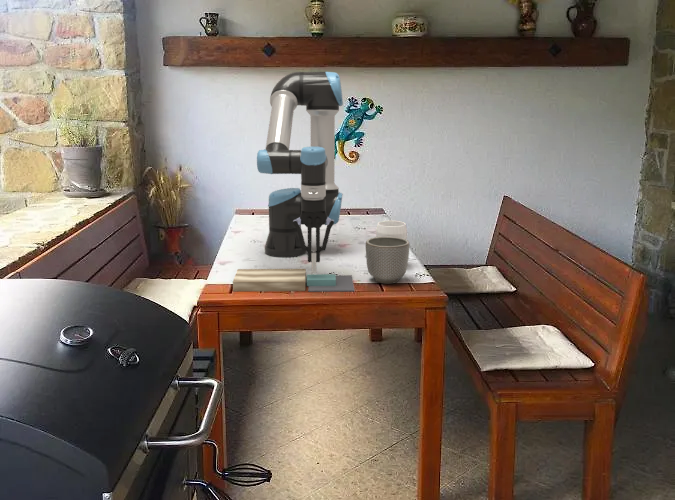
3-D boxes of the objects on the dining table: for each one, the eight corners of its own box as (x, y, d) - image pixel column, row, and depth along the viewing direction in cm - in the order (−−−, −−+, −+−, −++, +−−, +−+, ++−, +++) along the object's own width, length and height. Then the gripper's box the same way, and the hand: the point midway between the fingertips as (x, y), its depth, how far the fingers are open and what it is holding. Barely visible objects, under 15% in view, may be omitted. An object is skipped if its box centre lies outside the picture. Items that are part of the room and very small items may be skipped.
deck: (237, 278, 232) (237, 269, 231) (305, 277, 233) (305, 268, 232) (233, 291, 218) (232, 281, 218) (305, 290, 219) (305, 281, 218)
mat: (308, 276, 234) (308, 275, 233) (351, 276, 234) (351, 275, 234) (308, 291, 218) (308, 290, 218) (354, 291, 218) (354, 290, 218)
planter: (373, 272, 238) (374, 234, 235) (413, 277, 233) (415, 238, 230) (358, 284, 226) (359, 244, 223) (400, 289, 221) (401, 248, 217)
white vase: (404, 271, 240) (406, 227, 236) (373, 269, 242) (374, 226, 238) (407, 262, 250) (408, 220, 246) (377, 261, 252) (377, 219, 248)
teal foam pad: (306, 286, 222) (306, 279, 222) (307, 280, 228) (307, 274, 228) (335, 285, 223) (335, 279, 222) (335, 280, 228) (335, 274, 228)
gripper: (291, 200, 215) (292, 275, 221) (334, 200, 215) (334, 275, 221) (292, 195, 222) (293, 268, 228) (334, 195, 223) (334, 268, 229)
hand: (314, 272), depth 225 cm, fingers closed
